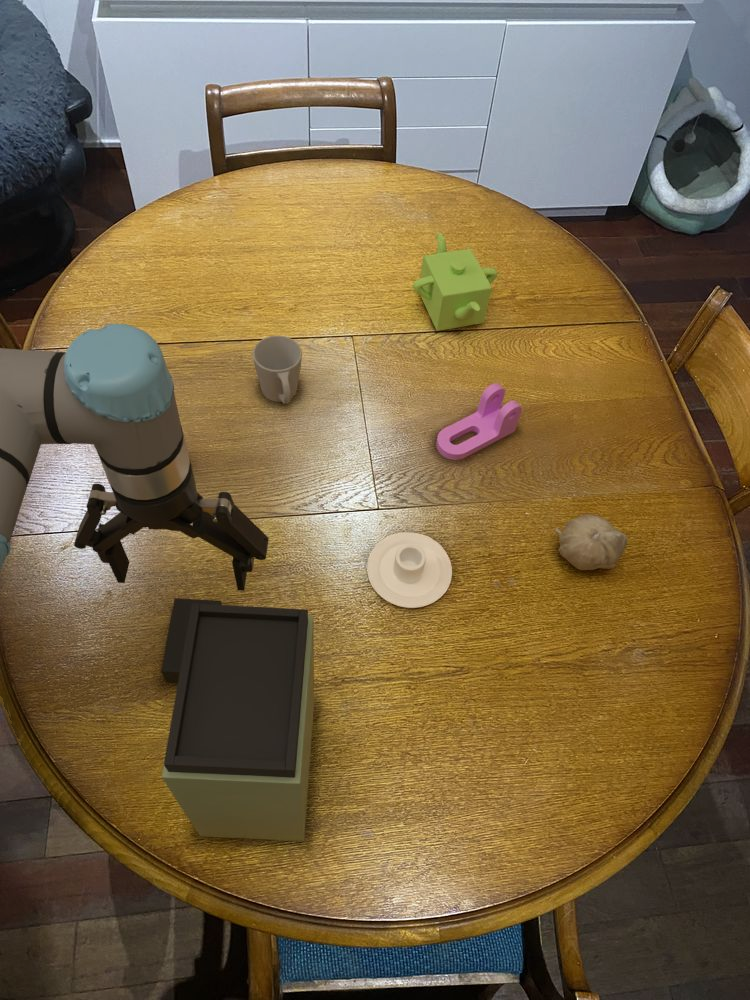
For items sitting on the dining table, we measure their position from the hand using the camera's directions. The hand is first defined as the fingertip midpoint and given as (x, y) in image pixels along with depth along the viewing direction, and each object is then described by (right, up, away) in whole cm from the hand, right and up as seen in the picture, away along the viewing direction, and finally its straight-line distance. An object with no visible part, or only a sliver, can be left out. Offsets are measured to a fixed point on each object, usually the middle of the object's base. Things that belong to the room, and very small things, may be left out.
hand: (183, 576), depth 90 cm
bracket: (+38, +19, +35) cm, 55 cm away
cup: (+7, +26, +37) cm, 46 cm away
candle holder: (+27, -1, +21) cm, 34 cm away
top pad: (-1, -10, +13) cm, 16 cm away
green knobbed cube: (+35, +42, +50) cm, 75 cm away
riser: (+8, -24, +5) cm, 25 cm away
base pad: (+10, -9, -18) cm, 22 cm away
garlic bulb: (+52, 0, +24) cm, 57 cm away
